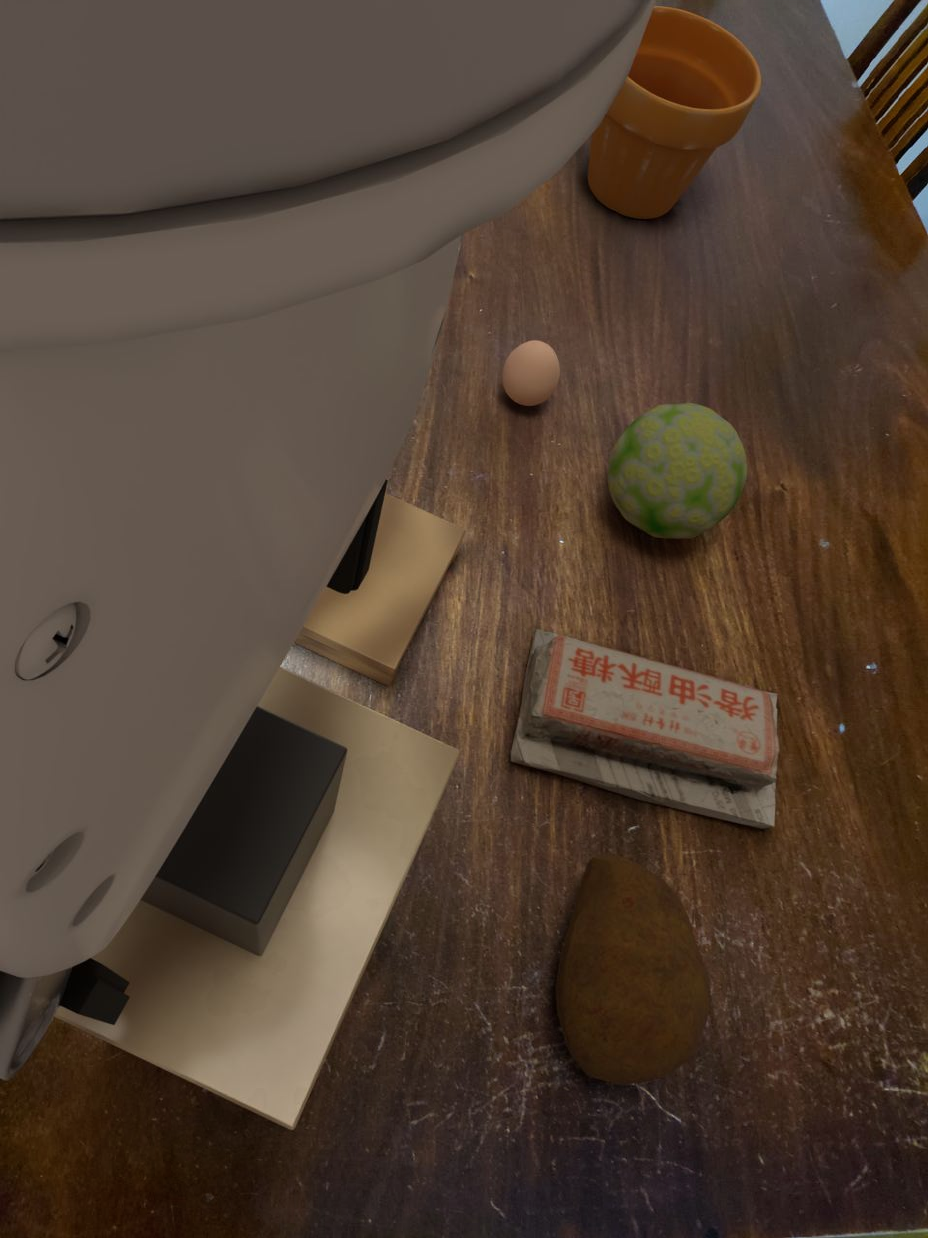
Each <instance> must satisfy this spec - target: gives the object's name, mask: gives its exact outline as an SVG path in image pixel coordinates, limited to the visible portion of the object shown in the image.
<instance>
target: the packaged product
mask: <svg viewBox="0 0 928 1238" xmlns="http://www.w3.org/2000/svg"><path fill="white" fill-rule="evenodd" d="M529 651H530V652H529V656H528V660H527V666H526V670H525V673H524V674H525V675H524V682H523V689H522V697H521V703H520V704H521V705H520V709H519V713H518V717H517V722H516V727H515V731H514V735H513V741H512V745H511V750H510V762H511V763H515V764H518V765H521V766H527V767H529V768H533V769H538V770H541V771H546V772H549V773H553V774H555V775H559V776H562V777H565V778H568V779H571V780H574V781H578V782H580V783H584V784H587V785H590V786H593V787H596V788H600V789H603V790H607V791H610V792H613V793H615V794H618V795H622V796H626V797H627V798H628V797H629V798H632V799H635V800H638V801H641V802H647V803H651V804H655V805H659V806H663V807H667V808H668V807H669V808H672V809H676V810H680V811H685V812H690V813H693V814H698V815H701V816H705V817H711V818H713V819H718V820H723V821H727V822H731V823H736V824H740V825H744V826H748V827H752V828H757V829H760V830H761V829H762V830H764V829H770V828H775V826H776V825H775V820H776V788H777V787H776V786H777V785H776V783H777V780H778V778H777V771H778V760H779V754H780V751H781V749H780V745H779V744H780V743H779V737H778V735H777V733H778V731H777V730H778V708H777V700H778V695H779V694H778V693H775V692H769V691H766V690H763V689H758V688H757V687H753V686H752V685H751V686H750V685H747V684H743V683H739V682H736V681H731V680H728V679H724V678H721V677H717V676H714V675H710V674H706V673H702V672H698V671H696V670H692V669H688V668H685V667H681V666H679V665H678V666H676V665H672V664H669V663H666V662H663V661H659V660H654V659H651V658H648V657H644V656H642V655H641V656H640V655H638V654H635V653H634V654H633V653H630V652H626V651H622V650H618V649H616V648H611V647H608V646H603V645H601V644H597V643H594V642H591V641H585V640H582V639H578V638H575V637H572V636H568V635H564V634H558V633H554V632H551V631H547V630H543V629H540V628H539V629H538V628H536V629H535V630H534V633H533V638H532V643H531V647H530V650H529Z"/></svg>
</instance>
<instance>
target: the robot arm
mask: <svg viewBox="0 0 928 1238" xmlns="http://www.w3.org/2000/svg"><path fill="white" fill-rule="evenodd" d="M656 2H657V0H0V1079H1V1080H2V1081H6V1082H7V1081H10V1080H12V1078H13V1077H15V1076H16V1075H17V1074H18V1073H19V1072H20V1070H21V1069H22V1068H23V1067H24V1066H25V1065H26V1063H27V1062H28V1060H29V1059H30V1058H31V1056H32V1055H33V1054H34V1052H35V1051H36V1050H37V1047H38V1046H39V1045H40V1043H41V1041H42V1040H43V1038H44V1037H45V1035H46V1033H47V1032H48V1030H49V1028H50V1026H51V1024H52V1022H53V1020H54V1018H55V1017H54V1016H55V1014H56V1012H57V1010H58V1008H59V1006H62V1007H64V1008H66V1009H68V1010H70V1011H72V1012H74V1013H77V1014H79V1015H82V1016H86V1017H89V1018H92V1019H95V1020H99V1021H102V1022H105V1023H108V1024H112V1025H115V1023H116V1021H117V1019H118V1018H119V1016H120V1014H121V1012H122V1010H123V1009H124V1007H125V1005H126V1003H127V1002H128V1000H129V998H130V996H128V995H126V994H124V992H125V990H126V988H127V987H128V985H129V983H130V982H128V981H127V980H125V979H124V978H122V977H121V976H119V975H118V974H116V973H115V972H113V971H112V970H110V969H109V968H107V967H106V966H104V965H103V964H101V963H99V962H98V961H96V960H94V959H92V958H91V957H93V956H94V955H96V954H98V953H99V952H101V951H102V950H104V949H105V948H106V947H107V945H108V944H109V943H110V942H111V941H112V939H113V938H114V937H115V935H116V934H117V932H118V931H119V930H120V928H121V927H122V926H123V924H124V923H125V921H126V920H127V919H128V917H129V916H130V914H131V913H132V911H133V910H134V908H135V907H136V905H137V904H138V902H139V901H140V899H141V898H142V896H143V895H144V893H145V892H146V890H147V889H148V887H149V885H150V884H151V882H152V881H153V879H154V878H155V876H156V874H157V873H158V871H159V870H160V868H161V866H162V865H163V863H164V861H165V860H166V858H167V856H168V855H169V853H170V852H171V850H172V848H173V847H174V845H175V843H176V842H177V840H178V838H179V837H180V835H181V834H182V832H183V830H184V829H185V827H186V825H187V823H188V822H189V820H190V818H191V817H192V815H193V813H194V812H195V810H196V808H197V807H198V805H199V803H200V802H201V800H202V798H203V797H204V795H205V793H206V792H207V790H208V788H209V786H210V785H211V783H212V781H213V780H214V778H215V776H216V775H217V773H218V771H219V770H220V768H221V766H222V765H223V763H224V761H225V760H226V758H227V756H228V755H229V753H230V751H231V749H232V748H233V746H234V744H235V743H236V741H237V739H238V737H239V736H240V734H241V732H242V731H243V729H244V727H245V726H246V724H247V722H248V720H249V719H250V717H251V715H252V714H253V712H254V710H255V709H256V707H257V705H258V703H259V702H260V700H261V698H262V697H263V695H264V693H265V691H266V690H267V688H268V686H269V685H270V683H271V681H272V680H273V678H274V676H275V674H276V673H277V671H278V669H279V668H280V667H282V664H283V662H284V661H285V659H286V657H287V656H288V654H289V652H290V651H291V649H292V647H293V645H294V644H295V643H294V642H295V640H296V639H297V637H298V635H299V633H300V632H301V630H302V628H303V626H304V625H305V623H306V621H307V619H308V618H309V616H310V614H311V612H312V611H313V609H314V607H315V605H316V604H317V602H318V600H319V598H320V597H321V595H322V593H323V591H324V590H325V588H326V587H328V588H330V589H332V590H335V591H337V592H339V593H343V594H348V593H350V591H355V590H358V588H359V587H360V585H361V583H362V581H363V579H364V578H365V576H366V574H367V572H368V570H369V566H370V562H371V557H372V552H373V548H374V543H375V538H376V534H377V529H378V524H379V520H380V515H381V510H382V506H383V501H384V496H385V493H387V492H386V491H387V487H388V482H389V480H388V477H389V475H390V473H391V470H392V469H393V467H394V465H395V462H396V460H397V459H398V456H399V454H400V452H401V450H402V447H403V445H404V443H405V441H406V439H407V437H408V434H409V432H410V430H411V427H412V424H413V423H414V419H415V417H416V414H417V412H418V409H419V406H420V403H421V400H422V398H423V395H424V391H425V388H426V385H427V382H428V380H429V376H430V372H431V368H432V365H433V361H434V359H435V354H436V351H437V348H438V344H439V339H440V337H441V332H442V327H443V325H444V320H445V317H446V312H447V308H448V304H449V300H450V296H451V291H452V286H453V282H454V278H455V274H456V268H457V263H458V260H459V255H460V251H461V247H462V242H463V237H464V234H466V233H469V232H470V231H472V230H474V229H476V228H478V227H480V226H482V225H485V224H487V223H490V222H493V221H495V220H498V219H500V218H501V217H503V216H504V215H506V214H507V213H508V212H509V211H511V210H512V209H513V208H514V207H516V206H517V205H519V204H520V203H521V202H522V201H523V200H525V199H526V198H527V197H529V196H530V195H531V194H532V193H534V192H536V190H538V189H540V187H541V186H543V185H544V184H546V183H547V182H548V181H549V180H550V179H552V178H553V177H554V176H556V174H557V173H559V171H560V170H561V169H562V168H563V167H564V166H565V165H566V164H567V162H568V161H569V160H570V159H571V158H572V157H573V156H574V154H576V152H577V151H578V150H579V149H580V148H581V147H582V146H583V145H584V143H586V141H587V140H588V139H589V138H590V137H591V136H592V133H593V132H594V131H595V130H596V129H597V128H598V127H599V125H600V124H601V122H602V120H603V119H604V117H605V115H606V114H607V112H608V110H609V109H610V107H611V105H612V103H613V102H614V100H615V98H616V96H617V95H618V93H619V91H620V89H621V88H622V86H623V84H624V82H625V81H626V79H627V77H628V74H629V72H630V69H631V67H632V64H633V61H634V59H635V56H636V53H637V51H638V48H639V45H640V42H641V40H642V37H643V34H644V32H645V29H646V26H647V23H648V21H649V18H650V15H651V13H652V10H653V7H654V6H656V5H655V4H656Z"/></svg>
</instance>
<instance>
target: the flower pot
mask: <svg viewBox="0 0 928 1238" xmlns="http://www.w3.org/2000/svg"><path fill="white" fill-rule="evenodd" d="M761 87H762V74H761V70H760V67H759V65H758V63H757V61H756V59H755V57H754V56H753V54H752V53H751V51H750V50H749V49H748V48H747V47H746V45H745V44H743V42H741V41H740V39H738V38H737V37H736V36H734V35H733V34H732V33H731V32H729V31H728V30H726V28H723V26H721V25H719V24H717V23H715V22H714V21H712V20H710V19H708V18H705V17H703V16H701V15H698V14H695V13H694V12H690V11H687V10H684V9H680V8H677V7H669V6H662V5H654V7H653V10H652V13H651V15H650V18H649V21H648V23H647V26H646V29H645V32H644V34H643V37H642V40H641V42H640V45H639V48H638V51H637V53H636V56H635V59H634V61H633V64H632V67H631V69H630V72H629V74H628V77H627V79H626V81H625V82H624V84H623V86H622V88H621V89H620V91H619V93H618V95H617V96H616V98H615V100H614V102H613V103H612V105H611V107H610V109H609V110H608V112H607V114H606V115H605V117H604V119H603V120H602V122H601V124H600V125H599V127H598V128H597V129H596V130H595V131H594V132H593V133H592V134H591V139H590V147H589V148H590V149H589V158H588V168H587V183H588V186H589V189H590V191H591V193H592V194H593V195H594V197H595V198H596V199H597V200H598V201H599V202H600V203H601V204H602V205H603V206H605V207H606V208H607V209H610V210H611V211H614V212H616V213H618V214H620V215H621V216H625V217H628V218H632V219H639V220H652V219H655V218H659V217H662V216H664V215H665V214H668V212H669V211H671V209H672V208H673V207H674V206H675V205H676V203H677V202H678V200H679V199H680V198H681V196H682V195H683V194H684V192H685V191H686V190H687V188H688V187H689V186H690V185H691V184H692V182H693V181H694V179H695V178H696V177H697V175H698V174H699V173H700V171H701V170H702V169H703V167H704V166H705V165H706V163H707V162H708V160H709V159H710V158H711V156H712V155H713V154H714V153H715V151H716V149H717V148H720V147H721V146H724V145H725V144H727V143H729V142H730V141H731V140H733V138H735V136H736V135H737V134H738V132H739V131H740V130H741V128H742V127H743V125H744V123H745V121H746V119H747V117H748V115H749V113H750V111H751V110H752V108H753V105H754V103H755V102H756V100H757V98H758V95H759V93H760V91H761Z"/></svg>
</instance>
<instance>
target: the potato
mask: <svg viewBox="0 0 928 1238" xmlns="http://www.w3.org/2000/svg"><path fill="white" fill-rule="evenodd" d="M585 866H586V867H585V869H584V873H583V876H582V878H581V882H580V885H579V889H578V891H577V896H576V899H575V903H574V906H573V910H572V913H571V916H570V920H569V923H568V926H567V930H566V933H565V938H564V941H563V944H562V948H561V953H560V957H559V958H560V959H559V964H558V969H557V976H556V983H555V1002H556V1012H557V1017H558V1020H559V1024H560V1029H561V1033H562V1036H563V1038H564V1041H565V1044H566V1047H567V1050H568V1053H569V1055H570V1056H571V1058H572V1059H573V1060H574V1062H575V1063H576V1064H577V1065H578V1067H579V1068H580V1069H581V1071H582V1072H583V1073H584V1074H585V1075H586V1076H587V1077H590V1078H592V1079H596V1080H600V1081H603V1082H607V1083H611V1084H613V1085H618V1086H622V1087H624V1086H629V1085H635V1084H640V1083H646V1082H650V1081H657V1080H660V1079H662V1078H663V1079H664V1078H666V1077H668V1075H670V1074H671V1073H673V1072H674V1071H676V1070H677V1069H679V1068H680V1067H681V1066H683V1065H685V1063H687V1062H688V1061H690V1059H691V1057H692V1055H693V1053H694V1051H695V1049H696V1047H697V1045H698V1043H699V1041H700V1039H701V1037H702V1035H703V1032H704V1028H705V1026H706V1023H707V1020H708V1017H709V1014H710V1006H711V1005H710V1004H711V994H712V992H711V991H712V990H711V989H712V988H711V986H710V985H711V984H710V982H709V977H708V974H707V973H708V972H707V970H706V966H705V963H704V960H703V957H702V955H701V952H700V948H699V947H698V944H697V941H696V938H695V937H696V936H695V934H694V930H693V927H692V924H691V921H690V918H689V915H688V913H687V911H686V908H685V906H684V905H683V903H682V901H681V899H680V897H679V894H678V893H677V892H675V890H674V889H673V888H672V887H671V886H670V885H669V884H668V883H667V882H666V881H665V880H664V879H663V878H662V877H661V876H660V875H659V874H657V873H655V872H654V871H652V870H650V869H648V868H647V867H645V866H643V865H641V864H639V863H637V862H635V861H632V860H631V859H628V858H625V857H624V856H621V855H619V854H616V853H613V852H611V851H610V852H607V853H604V854H600V855H596V856H594V857H593V856H592V858H591V859H589V861H587V863H586V865H585Z"/></svg>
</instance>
